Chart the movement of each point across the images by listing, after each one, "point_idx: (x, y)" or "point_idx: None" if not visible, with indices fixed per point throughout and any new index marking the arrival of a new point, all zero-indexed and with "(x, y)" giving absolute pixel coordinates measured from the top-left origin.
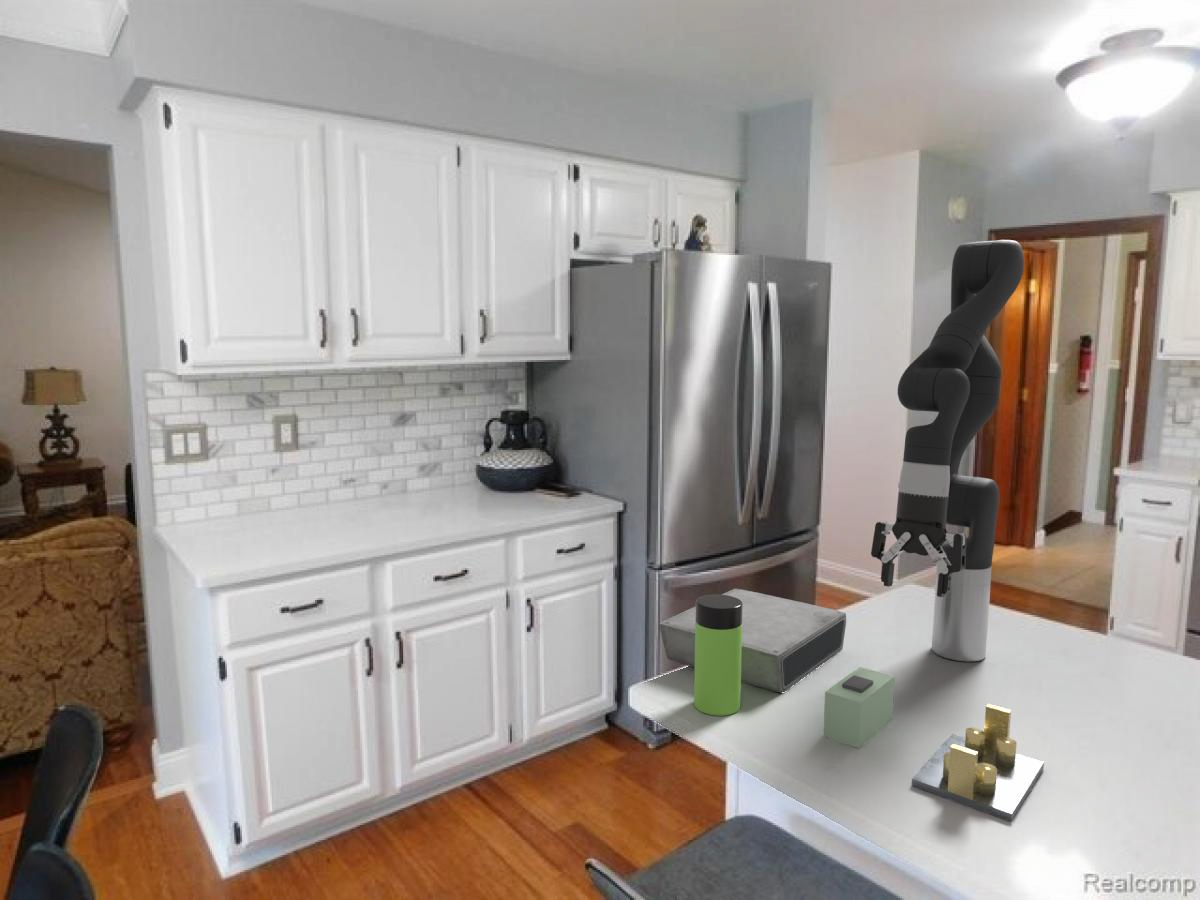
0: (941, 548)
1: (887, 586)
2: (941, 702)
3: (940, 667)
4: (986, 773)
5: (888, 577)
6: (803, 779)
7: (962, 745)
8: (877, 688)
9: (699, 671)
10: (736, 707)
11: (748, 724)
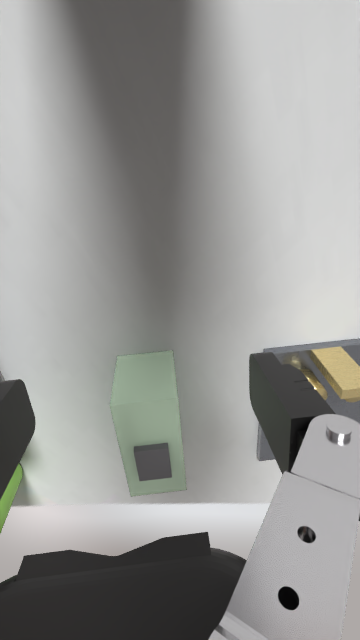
0: (347, 593)
1: (30, 417)
2: (207, 239)
3: (122, 17)
4: None
5: (19, 456)
6: (171, 502)
7: None
8: (180, 447)
9: None
10: (19, 472)
11: (55, 473)
